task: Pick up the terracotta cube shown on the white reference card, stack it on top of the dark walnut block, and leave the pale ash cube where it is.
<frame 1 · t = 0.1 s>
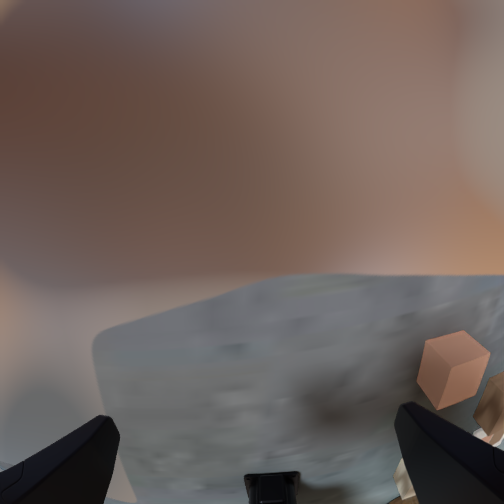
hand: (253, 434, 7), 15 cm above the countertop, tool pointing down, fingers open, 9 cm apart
ash cube: (412, 462, 28), on the countertop
block: (409, 495, 31), on the countertop
reference card: (487, 437, 28), on the countertop
terracotta cube: (440, 356, 23), on the countertop
walnut block: (496, 389, 25), on the countertop
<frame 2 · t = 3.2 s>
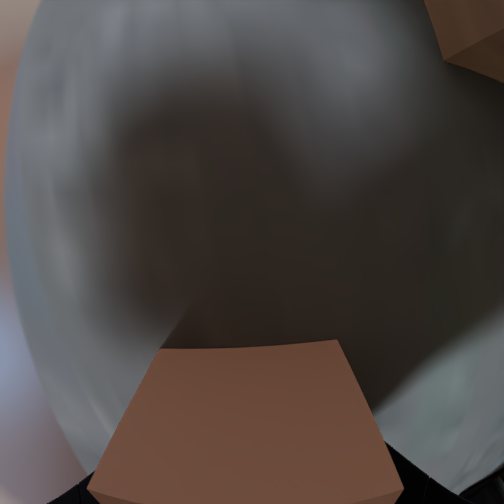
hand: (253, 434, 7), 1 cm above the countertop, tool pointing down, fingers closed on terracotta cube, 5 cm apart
terracotta cube: (253, 411, 8), on the countertop, touching gripper
walnut block: (482, 11, 5), on the countertop
when the fingers open (8 cm above the countertop, at t = 7.2 s): terracotta cube drops 2 cm, resting on walnut block.
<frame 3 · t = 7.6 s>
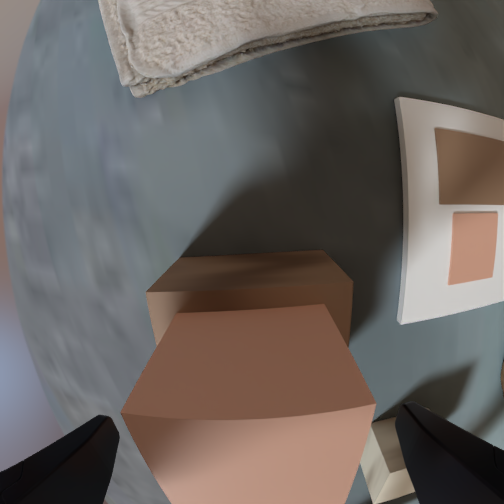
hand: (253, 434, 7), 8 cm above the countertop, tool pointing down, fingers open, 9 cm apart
ash cube: (393, 435, 17), on the countertop
reference card: (470, 211, 13), on the countertop
terracotta cube: (254, 370, 10), point 5 cm above the countertop, touching walnut block
walnut block: (254, 318, 15), on the countertop, touching terracotta cube
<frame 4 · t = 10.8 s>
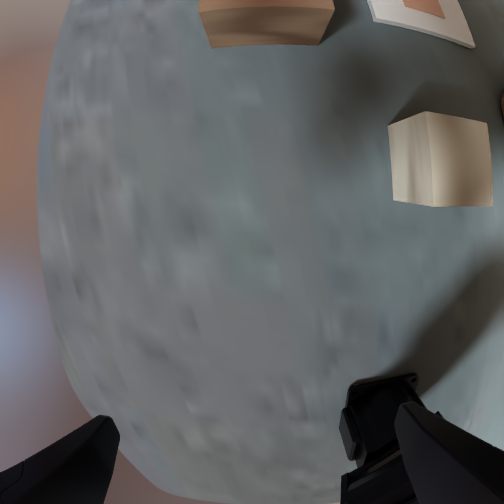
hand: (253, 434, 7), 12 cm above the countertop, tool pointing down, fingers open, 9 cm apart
ash cube: (420, 163, 17), on the countertop
walnut block: (261, 8, 15), on the countertop, touching terracotta cube
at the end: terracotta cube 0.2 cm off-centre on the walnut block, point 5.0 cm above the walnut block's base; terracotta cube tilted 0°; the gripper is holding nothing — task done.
